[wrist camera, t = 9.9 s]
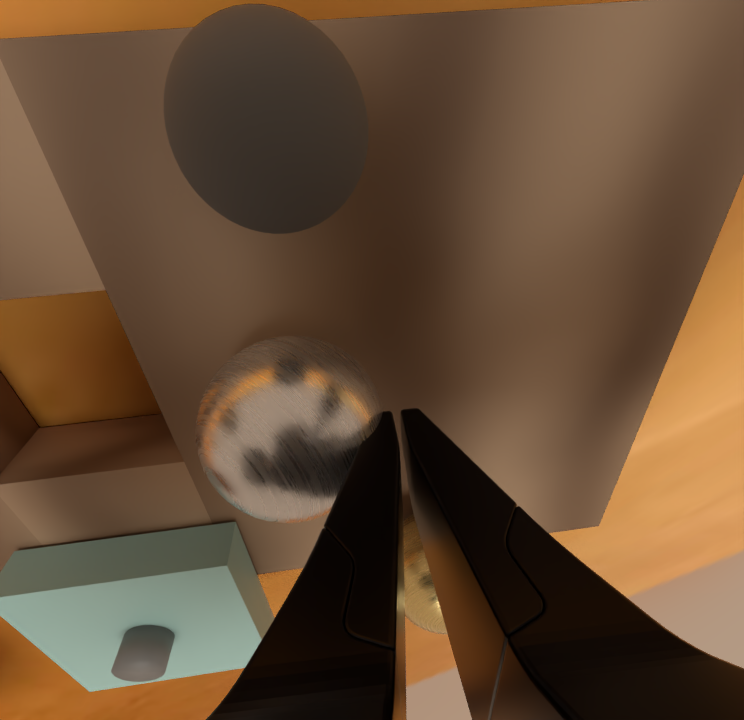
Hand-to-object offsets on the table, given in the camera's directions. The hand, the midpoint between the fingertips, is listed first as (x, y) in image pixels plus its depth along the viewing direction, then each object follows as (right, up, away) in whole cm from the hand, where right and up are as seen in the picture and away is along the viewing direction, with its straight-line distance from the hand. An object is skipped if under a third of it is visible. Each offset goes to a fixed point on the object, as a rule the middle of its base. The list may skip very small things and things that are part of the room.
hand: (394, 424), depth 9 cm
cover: (-8, -7, +6) cm, 12 cm away
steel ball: (-2, 0, 0) cm, 2 cm away
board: (-3, +2, +4) cm, 5 cm away
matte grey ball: (-2, +5, -3) cm, 6 cm away
